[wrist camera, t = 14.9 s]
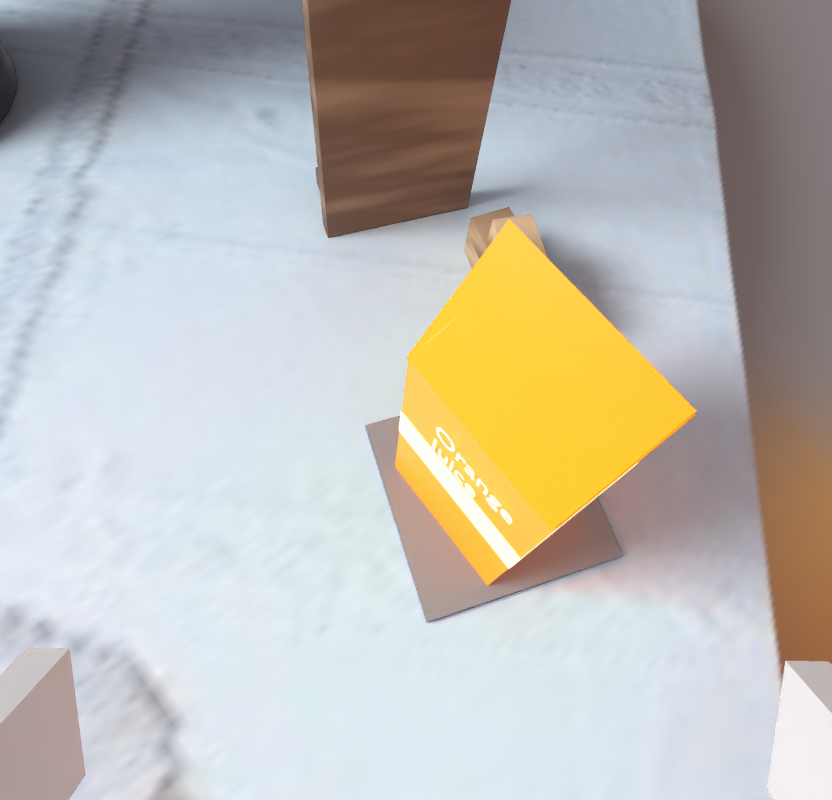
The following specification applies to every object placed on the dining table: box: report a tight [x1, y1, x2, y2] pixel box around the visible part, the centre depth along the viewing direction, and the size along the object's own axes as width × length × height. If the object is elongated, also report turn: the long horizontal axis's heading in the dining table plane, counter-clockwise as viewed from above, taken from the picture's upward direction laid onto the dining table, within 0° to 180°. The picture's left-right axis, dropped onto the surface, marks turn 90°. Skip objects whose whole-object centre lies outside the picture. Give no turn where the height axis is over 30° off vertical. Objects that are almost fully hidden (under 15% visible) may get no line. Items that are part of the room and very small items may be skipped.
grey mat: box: [366, 416, 623, 622], centre depth 39 cm, size 12×12×1 cm
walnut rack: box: [302, 0, 549, 269], centre depth 34 cm, size 18×12×24 cm, turn 18°
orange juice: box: [395, 219, 696, 585], centre depth 30 cm, size 8×9×20 cm
